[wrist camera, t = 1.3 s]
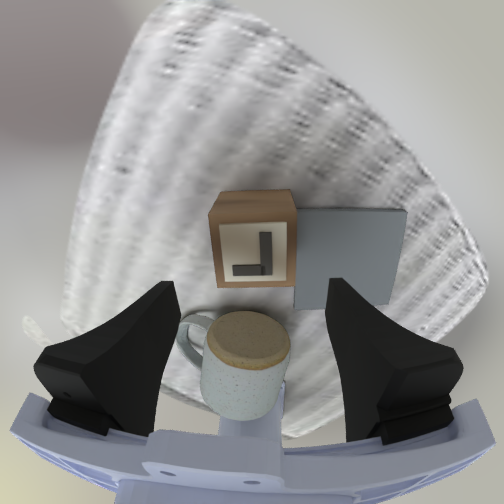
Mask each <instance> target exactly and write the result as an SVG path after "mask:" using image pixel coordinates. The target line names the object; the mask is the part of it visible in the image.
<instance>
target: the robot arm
mask: <svg viewBox="0 0 504 504" xmlns="http://www.w3.org/2000/svg"><path fill="white" fill-rule="evenodd" d="M325 316H326V323H327V329H328V334H329V337H330V341H331V344H332V348H333V351H334V354H335V358H336V361H337V365H338V369H339V373H340V378H341V385H342V392H343V401H344V410H345V422H346V443H340V444H332V445H324V446H314V447H301V448H282V436H281V419H282V418H283V405H284V391H285V382H284V381H283V383H282V386H281V389H280V392H279V395H278V399H277V402H276V404H275V405H274V407H273V408H272V409H271V410H270V411H269V412H268V413H267V414H265V415H264V416H262V417H260V418H257V419H254V420H248V421H237V420H233V419H228V418H225V417H223V416H221V415H220V423H219V430H218V435H211V434H200V433H190V432H182V431H175V430H157V431H155V432H154V422H155V414H156V406H157V401H158V395H159V389H160V385H161V380H162V376H163V372H164V369H165V366H166V363H167V360H168V358H169V355H170V352H171V349H172V347H173V344H174V341H175V338H176V335H177V333H178V328H179V324H180V319H181V312H180V308H179V304H178V299H177V295H176V291H175V287H174V282H173V281H161V282H159V283H158V284H156V285H155V286H154V287H153V288H151V289H150V290H149V291H148V292H146V293H145V294H144V295H143V296H142V297H140V298H139V299H138V300H137V301H135V302H134V303H133V304H131V305H130V306H129V307H127V308H126V309H125V310H123V311H122V312H121V313H119V314H118V315H117V316H115V317H114V318H112V319H110V320H109V321H107V322H106V323H104V324H102V325H100V326H98V327H97V328H95V329H93V330H91V331H89V332H87V333H85V334H82V335H80V336H78V337H75V338H73V339H70V340H67V341H64V342H62V343H58V344H54V345H51V346H47V347H45V349H44V350H43V352H42V353H41V355H40V356H39V358H38V360H37V361H36V363H35V364H34V371H35V374H36V376H37V378H38V379H39V380H40V382H41V383H42V384H43V386H44V387H45V388H46V390H47V391H48V392H49V393H50V394H51V395H52V397H53V399H52V401H51V403H50V402H49V401H48V400H47V399H45V398H43V397H40V396H38V395H36V394H33V393H29V395H28V397H27V398H26V400H25V402H24V403H23V405H22V407H21V409H20V411H19V413H18V415H17V417H16V418H15V420H14V422H13V424H12V426H11V429H10V432H11V433H12V434H13V435H14V436H15V437H17V439H19V440H20V441H21V442H22V443H24V444H25V445H26V446H27V447H28V448H30V449H31V450H32V451H33V452H35V453H36V454H37V455H39V456H40V457H41V458H43V459H45V460H47V461H48V462H50V463H52V464H55V465H56V466H58V467H60V468H62V469H64V470H66V471H68V472H70V473H72V474H74V475H76V476H78V477H80V478H82V479H84V480H86V481H88V482H91V483H93V484H95V485H98V486H100V487H102V488H105V489H107V490H110V491H113V492H115V493H117V494H116V498H115V502H114V504H376V503H379V502H383V501H386V500H390V499H393V498H396V497H399V496H402V495H405V494H407V493H410V492H413V491H415V490H418V489H421V488H423V487H425V486H428V485H430V484H433V483H435V482H437V481H440V480H442V479H444V478H446V477H448V476H451V475H453V474H455V473H457V472H459V471H461V470H463V469H465V468H466V467H468V466H469V465H470V464H471V463H473V462H475V461H476V460H477V459H479V458H480V457H481V456H482V455H484V454H485V453H486V452H488V451H489V450H490V449H491V448H492V447H494V446H495V444H496V442H495V439H494V437H493V434H492V432H491V429H490V427H489V425H488V422H487V420H486V417H485V415H484V413H483V410H482V408H481V406H480V404H479V402H478V400H477V399H473V400H471V401H469V402H466V403H463V404H461V405H458V406H457V407H455V408H454V409H452V410H451V409H450V406H449V404H450V403H451V398H450V395H449V393H450V392H451V390H452V389H453V388H454V386H455V385H456V383H457V382H458V380H459V379H460V377H461V375H462V372H463V364H462V362H461V360H460V358H459V357H458V355H457V353H456V352H455V350H454V348H451V347H448V346H444V345H441V344H438V343H435V342H433V341H430V340H428V339H426V338H423V337H421V336H419V335H417V334H415V333H413V332H411V331H409V330H407V329H406V328H404V327H402V326H400V325H399V324H397V323H396V322H394V321H393V320H391V319H390V318H388V317H387V316H385V315H384V314H383V313H381V312H380V311H379V310H377V309H376V308H375V307H374V306H373V305H371V304H370V303H369V302H368V301H367V300H366V299H364V298H363V297H362V296H361V295H360V294H359V293H358V292H357V291H356V290H355V289H354V288H353V287H352V286H351V285H350V284H349V283H348V282H346V281H345V280H344V279H343V278H329V285H328V294H327V302H326V309H325Z"/></svg>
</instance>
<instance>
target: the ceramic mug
mask: <svg viewBox="0 0 504 504" xmlns="http://www.w3.org/2000/svg"><path fill="white" fill-rule="evenodd" d="M189 325H194V326H197V327H199V328H201V329H203V330H205V331H207V335H206V337H205V341H204V348H203V356H201V355H200V354H199V353H198V352H197V351H196V350H195V349H194V348H193V347H192V346H191V344H190V343H189V341H188V338H187V329H188V327H189ZM175 342H176V344H177V347H178V349H179V350H180V352H181V353H182V355H183V356H184V357H185V358H186V359H187V360H188V361H189V362H190V363H191V364H192V365H193V366H194V367H196V368H197V369H199V370H200V371H201V380H200V389H201V394H202V396H203V399H204V401H205V402H206V404H207V405H208V406H209V407H210V408H211V409H212V410H213V411H215V412H216V413H217V414H219V415H221V416H223V417H225V418H228V419H233V420H237V421H248V420H254V419H257V418H260V417H262V416H264V415H265V414H267V413H268V412H269V411H270V410H271V409H272V408H273V407H274V405H275V404H276V402H277V399H278V395H279V392H280V389H281V386H282V383H283V379H284V375H285V372H286V369H287V366H288V363H289V358H290V348H291V345H290V339H289V335H288V333H287V332H286V330H285V329H284V327H283V326H282V325H281V324H280V323H278V322H277V321H276V320H274V319H272V318H271V317H269V316H267V315H264V314H261V313H257V312H253V311H236V312H231V313H227V314H225V315H223V316H221V317H219V318H218V319H216V320H215V321H214V320H212V319H210V318H208V317H206V316H201V315H197V314H193V315H189V316H187V317H186V318H185V319H183V320H182V321H181V322H180V324H179V328H178V333H177V335H176V338H175Z"/></svg>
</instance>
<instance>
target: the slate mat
mask: <svg viewBox="0 0 504 504" xmlns="http://www.w3.org/2000/svg"><path fill="white" fill-rule="evenodd" d="M296 210H297V246H296V279H295V291H294V310H313V309H326V302H327V294H328V285H329V278H343V279H344V280H345V281H346V282H348V283H349V284H350V285H351V286H352V287H353V288H354V289H355V290H356V291H357V292H358V293H359V294H360V295H361V296H362V297H363V298H364V299H366V300H367V301H368V302H369V303H370V304H371V305H373V306H374V305H386V304H388V303H389V300H390V296H391V292H392V288H393V284H394V280H395V276H396V272H397V267H398V263H399V258H400V253H401V248H402V243H403V237H404V232H405V226H406V219H407V213H408V212H407V211H405V210H396V209H296Z"/></svg>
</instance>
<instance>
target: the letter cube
mask: <svg viewBox="0 0 504 504" xmlns="http://www.w3.org/2000/svg"><path fill="white" fill-rule="evenodd" d="M208 218H209V226H210V235H211V243H212V251H213V259H214V266H215V274H216V281H217V288H247V287H291V286H295V279H296V246H297V210H296V207H295V204H294V201H293V198H292V195H291V192H290V189H282V190H248V191H226V192H220V194H219V196H218V198H217V199H216V201H215V203H214V205H213V207H212V208H211V210H210V212H209V214H208Z"/></svg>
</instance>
